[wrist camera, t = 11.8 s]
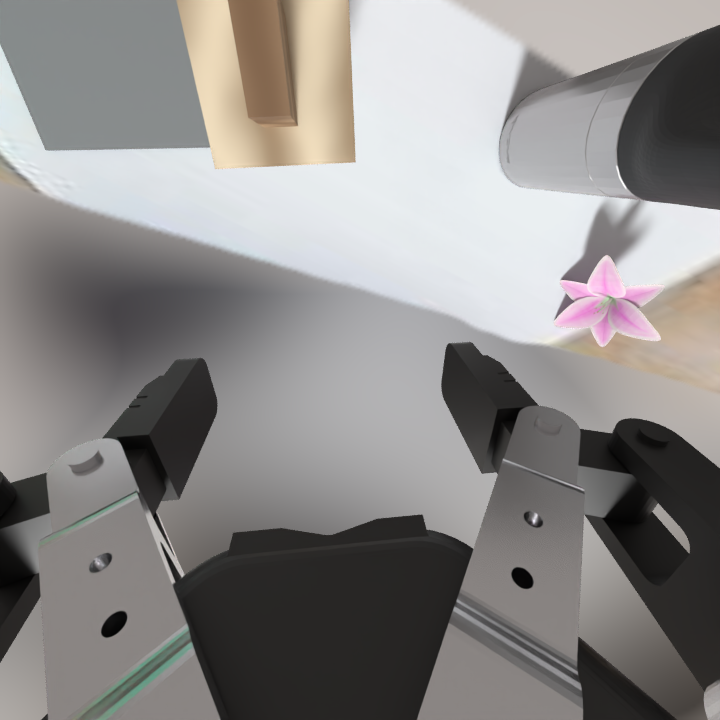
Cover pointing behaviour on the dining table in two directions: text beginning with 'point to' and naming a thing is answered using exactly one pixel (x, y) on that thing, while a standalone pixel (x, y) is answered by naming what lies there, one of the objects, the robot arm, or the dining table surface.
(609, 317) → the lily
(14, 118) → the dining table surface
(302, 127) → the lid
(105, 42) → the mat
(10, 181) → the dining table surface
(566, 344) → the dining table surface
